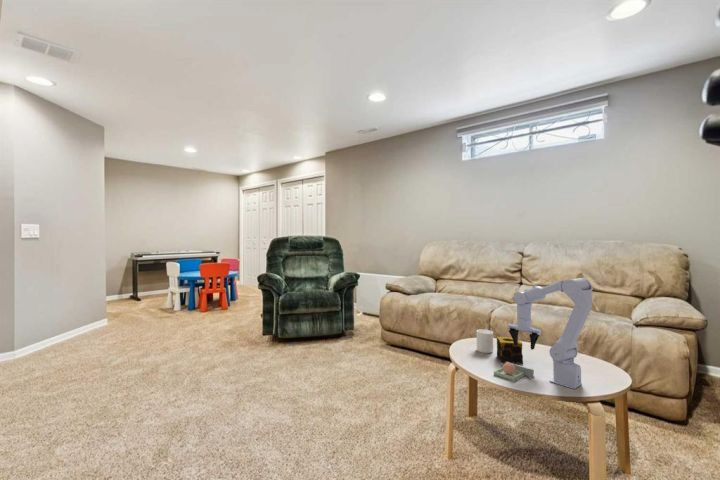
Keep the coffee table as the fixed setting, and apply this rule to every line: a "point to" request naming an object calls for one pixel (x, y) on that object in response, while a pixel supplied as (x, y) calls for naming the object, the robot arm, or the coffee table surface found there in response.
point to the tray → (512, 377)
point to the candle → (509, 350)
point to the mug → (485, 341)
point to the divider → (524, 370)
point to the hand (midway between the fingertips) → (524, 347)
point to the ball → (509, 368)
